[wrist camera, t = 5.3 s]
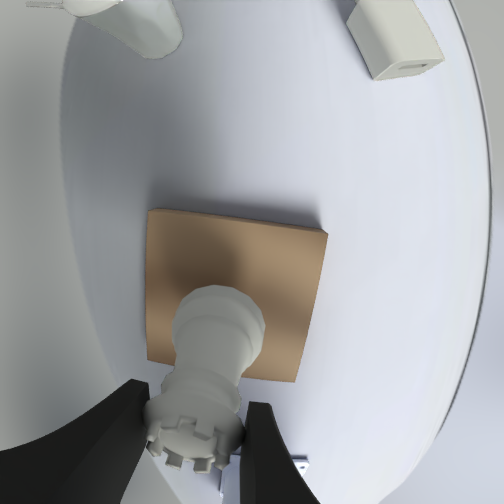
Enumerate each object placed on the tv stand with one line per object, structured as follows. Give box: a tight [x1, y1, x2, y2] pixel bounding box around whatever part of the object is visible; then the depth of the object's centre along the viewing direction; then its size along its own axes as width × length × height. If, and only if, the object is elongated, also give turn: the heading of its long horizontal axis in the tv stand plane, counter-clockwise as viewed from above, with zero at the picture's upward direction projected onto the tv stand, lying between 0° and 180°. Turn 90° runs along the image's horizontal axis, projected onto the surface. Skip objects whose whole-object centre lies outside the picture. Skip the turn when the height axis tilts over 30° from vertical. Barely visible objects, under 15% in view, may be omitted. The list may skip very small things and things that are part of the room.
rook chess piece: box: [142, 285, 265, 474], centre depth 10 cm, size 4×4×8 cm
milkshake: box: [26, 0, 183, 59], centre depth 10 cm, size 4×5×10 cm
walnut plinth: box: [145, 208, 328, 382], centre depth 17 cm, size 10×10×2 cm
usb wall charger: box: [346, 0, 445, 81], centre depth 12 cm, size 4×7×4 cm, turn 19°
